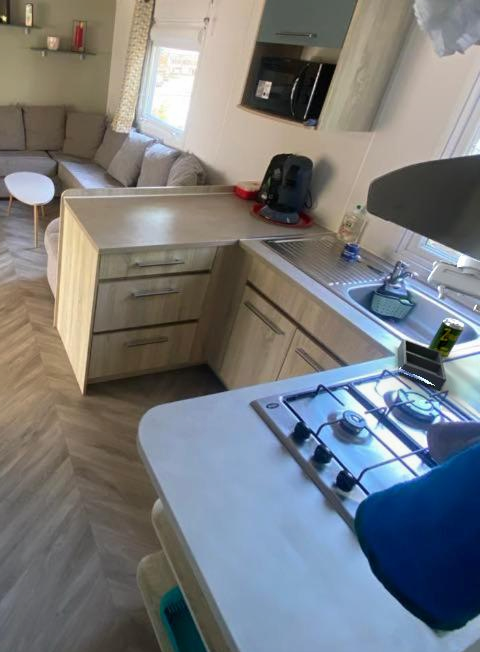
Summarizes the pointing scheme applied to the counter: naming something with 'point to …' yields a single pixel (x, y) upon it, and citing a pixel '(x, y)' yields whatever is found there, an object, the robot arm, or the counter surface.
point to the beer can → (447, 336)
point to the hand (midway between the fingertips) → (458, 304)
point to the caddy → (421, 364)
